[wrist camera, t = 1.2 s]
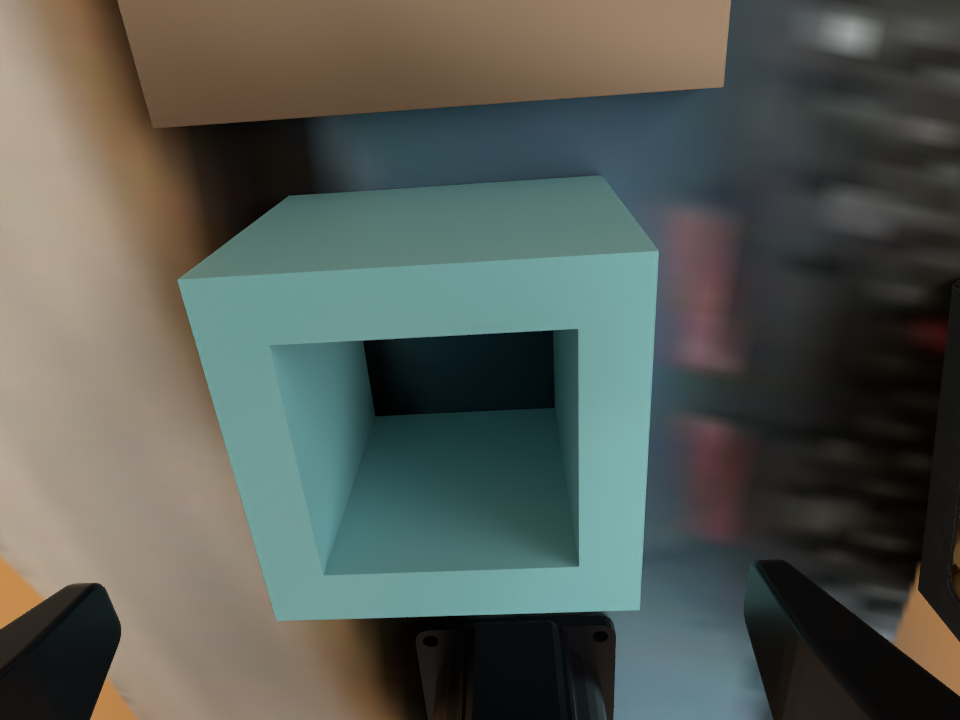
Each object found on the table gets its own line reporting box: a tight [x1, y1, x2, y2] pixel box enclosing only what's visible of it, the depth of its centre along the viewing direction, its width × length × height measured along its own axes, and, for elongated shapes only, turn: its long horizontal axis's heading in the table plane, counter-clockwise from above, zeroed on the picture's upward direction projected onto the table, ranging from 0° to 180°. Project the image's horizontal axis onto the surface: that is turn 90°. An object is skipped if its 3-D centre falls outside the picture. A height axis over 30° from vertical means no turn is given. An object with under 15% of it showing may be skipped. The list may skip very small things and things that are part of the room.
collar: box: [177, 175, 659, 621], centre depth 14 cm, size 7×7×6 cm
